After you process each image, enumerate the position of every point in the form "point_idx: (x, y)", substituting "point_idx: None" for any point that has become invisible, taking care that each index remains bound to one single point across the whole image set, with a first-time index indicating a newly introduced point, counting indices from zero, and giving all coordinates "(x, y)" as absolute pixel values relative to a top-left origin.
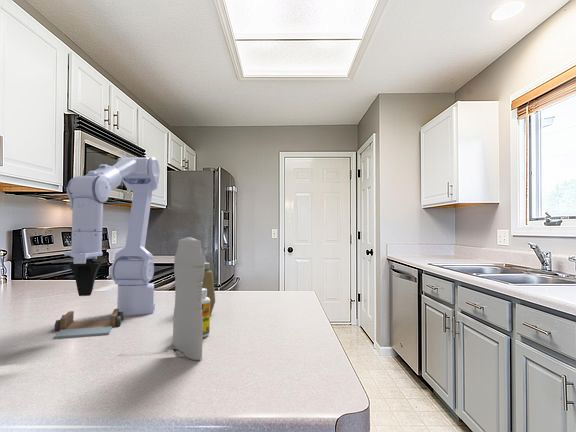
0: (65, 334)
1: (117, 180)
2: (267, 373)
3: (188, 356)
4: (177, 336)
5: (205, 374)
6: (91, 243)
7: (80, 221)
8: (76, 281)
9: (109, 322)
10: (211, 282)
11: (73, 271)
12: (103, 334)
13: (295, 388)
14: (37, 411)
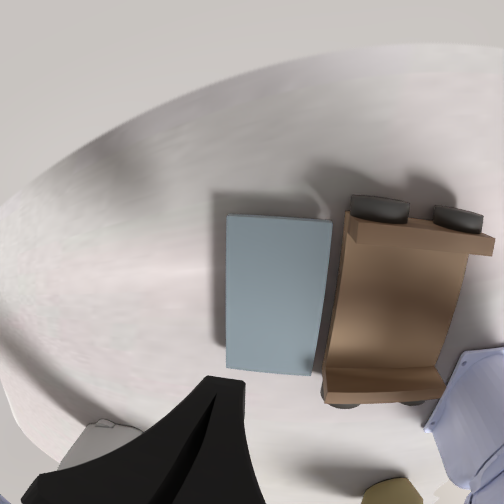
0: (245, 249)
1: None
2: (63, 444)
3: (91, 425)
4: (97, 441)
5: (53, 411)
6: None
7: None
8: (152, 428)
9: (395, 360)
10: None
11: (81, 467)
12: (227, 353)
13: (41, 436)
14: None
